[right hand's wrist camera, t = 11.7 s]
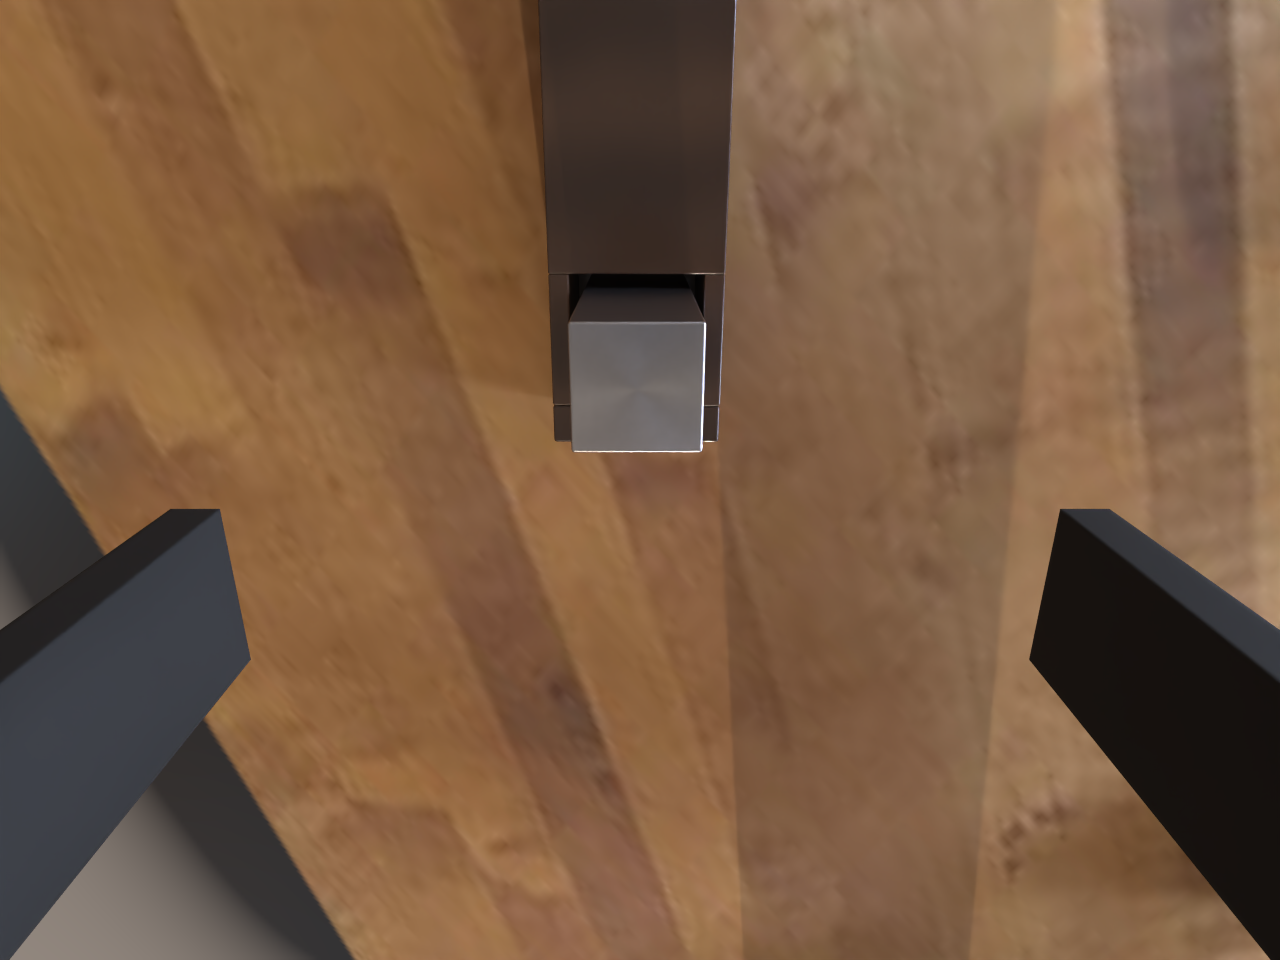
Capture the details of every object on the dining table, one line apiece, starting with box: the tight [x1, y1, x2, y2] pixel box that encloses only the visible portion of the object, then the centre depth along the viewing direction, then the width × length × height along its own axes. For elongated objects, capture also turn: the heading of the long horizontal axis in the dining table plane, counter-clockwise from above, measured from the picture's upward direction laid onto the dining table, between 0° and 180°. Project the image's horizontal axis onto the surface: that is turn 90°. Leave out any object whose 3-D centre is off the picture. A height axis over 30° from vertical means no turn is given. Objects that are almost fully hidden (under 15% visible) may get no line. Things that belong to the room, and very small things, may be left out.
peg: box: [568, 274, 706, 452], centre depth 29 cm, size 4×4×12 cm
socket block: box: [538, 0, 736, 442], centre depth 30 cm, size 24×6×6 cm, turn 0°
